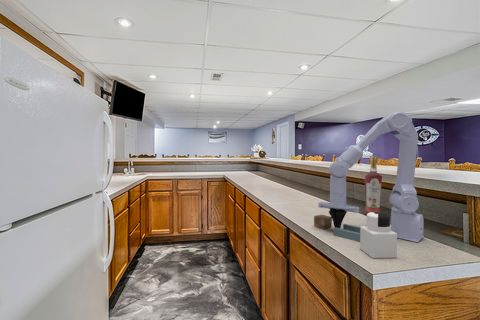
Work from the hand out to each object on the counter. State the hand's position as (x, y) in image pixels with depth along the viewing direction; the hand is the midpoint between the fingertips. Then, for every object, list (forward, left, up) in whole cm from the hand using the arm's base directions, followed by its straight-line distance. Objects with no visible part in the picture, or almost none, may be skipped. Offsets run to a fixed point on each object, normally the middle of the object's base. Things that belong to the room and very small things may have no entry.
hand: (337, 229), depth 94 cm
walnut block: (+7, -1, -1) cm, 7 cm away
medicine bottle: (-18, +10, -1) cm, 20 cm away
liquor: (+1, -37, -1) cm, 37 cm away
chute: (-6, 0, -1) cm, 6 cm away
